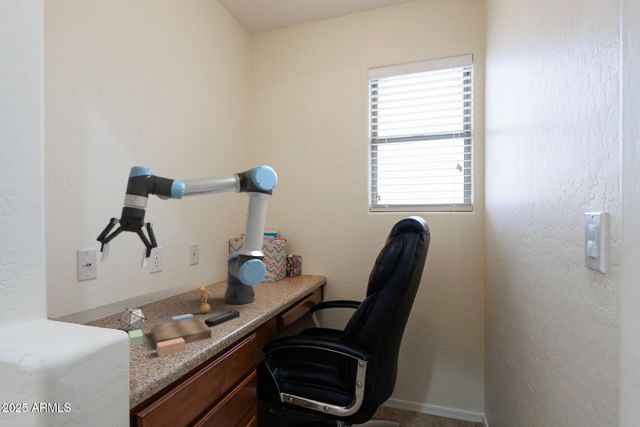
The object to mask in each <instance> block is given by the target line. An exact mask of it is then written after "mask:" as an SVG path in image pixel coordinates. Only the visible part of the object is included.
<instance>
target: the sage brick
mask: <svg viewBox="0 0 640 427" xmlns="http://www.w3.org/2000/svg"><path fill="white" fill-rule="evenodd" d="M127 335H129V338H130V345H129V347H130V346H131V345H138V346H142V345H141V344H143V345H144V334H143V331H142V329H141V328H139V330H129V331H128V334H127Z"/></svg>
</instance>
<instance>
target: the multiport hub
mask: <svg viewBox="0 0 640 427" xmlns="http://www.w3.org/2000/svg"><path fill="white" fill-rule="evenodd" d="M240 316H241V311H239V310H238V311H237V310H235V309H233V310H228V311H227V312H223V313H220V314H217V315H214V316H211V317H210V318H206V319H204V323H205V324H206V325H207V326H208V327H209V328H210V327H211V328H214V327H216V326H218V325H221V324H224V323H226V322H229V321H232V320H235V319H237V318H240Z"/></svg>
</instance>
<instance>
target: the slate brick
mask: <svg viewBox="0 0 640 427" xmlns="http://www.w3.org/2000/svg"><path fill="white" fill-rule="evenodd" d="M193 318H195V317H194V314H192V313H187V314H181V315H176V316H171V320H170V321H171V322H176V321H181V320H187V319H193Z"/></svg>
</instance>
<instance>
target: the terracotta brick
mask: <svg viewBox="0 0 640 427" xmlns="http://www.w3.org/2000/svg"><path fill="white" fill-rule="evenodd" d="M185 350H186V343H185V341H184V340H183V338H178V339H173V340H169V341H164V342H160V343H157V347H156V354H157V356H158V357H164V356H168V355H172V354H176V353H180V352H184V351H185Z"/></svg>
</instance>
